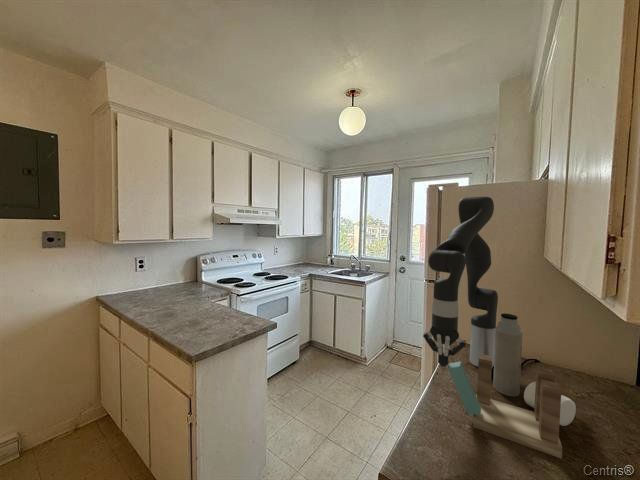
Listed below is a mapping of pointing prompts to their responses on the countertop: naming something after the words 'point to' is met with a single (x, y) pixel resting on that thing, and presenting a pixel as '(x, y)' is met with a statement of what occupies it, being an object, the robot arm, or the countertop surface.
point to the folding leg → (464, 388)
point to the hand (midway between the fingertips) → (443, 365)
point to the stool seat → (521, 412)
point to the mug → (565, 409)
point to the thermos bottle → (507, 356)
